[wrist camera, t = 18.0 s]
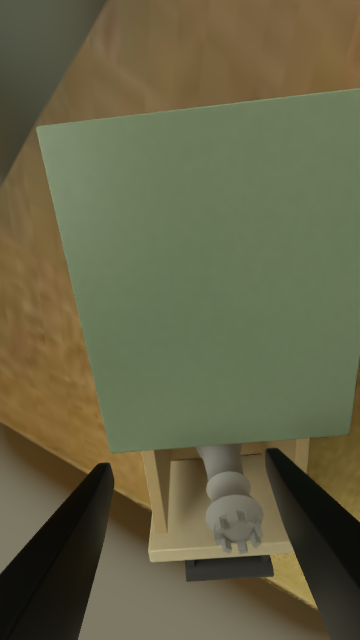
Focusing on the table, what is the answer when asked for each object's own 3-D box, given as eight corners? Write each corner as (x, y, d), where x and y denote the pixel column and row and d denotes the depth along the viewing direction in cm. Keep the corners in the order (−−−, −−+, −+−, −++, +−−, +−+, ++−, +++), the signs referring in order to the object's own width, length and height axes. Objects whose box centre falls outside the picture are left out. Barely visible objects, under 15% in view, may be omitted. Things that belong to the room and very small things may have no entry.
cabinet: (276, 360, 19) (350, 435, 11) (139, 372, 20) (110, 454, 11) (281, 179, 15) (399, 81, 7) (111, 197, 16) (34, 125, 7)
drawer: (271, 500, 23) (308, 597, 16) (165, 507, 23) (158, 606, 16) (274, 336, 18) (331, 380, 11) (140, 348, 18) (116, 398, 11)
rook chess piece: (216, 452, 19) (240, 577, 12) (178, 426, 19) (178, 542, 11) (250, 421, 19) (300, 534, 11) (212, 392, 18) (237, 492, 10)
